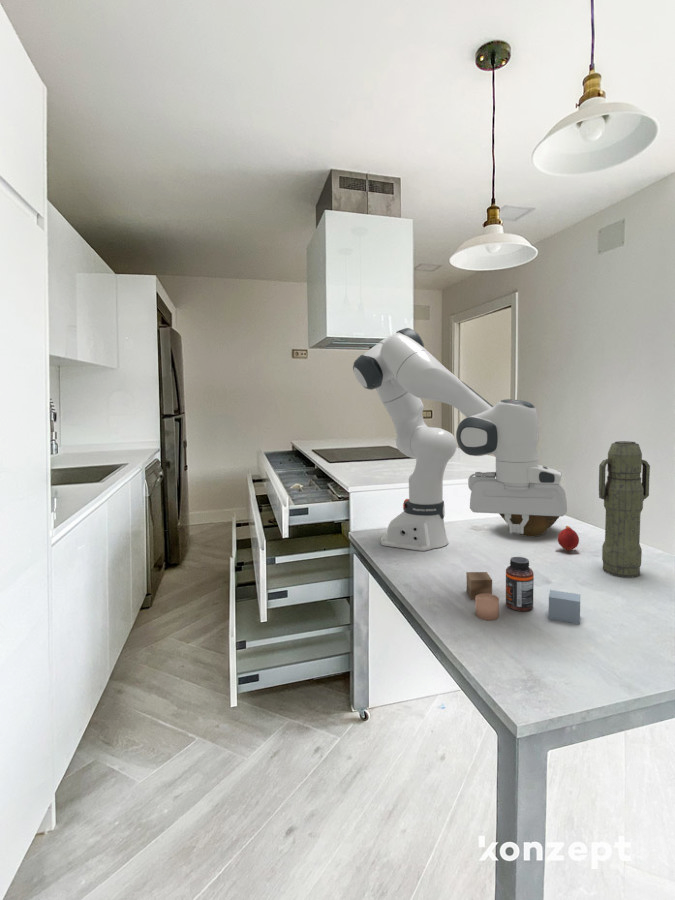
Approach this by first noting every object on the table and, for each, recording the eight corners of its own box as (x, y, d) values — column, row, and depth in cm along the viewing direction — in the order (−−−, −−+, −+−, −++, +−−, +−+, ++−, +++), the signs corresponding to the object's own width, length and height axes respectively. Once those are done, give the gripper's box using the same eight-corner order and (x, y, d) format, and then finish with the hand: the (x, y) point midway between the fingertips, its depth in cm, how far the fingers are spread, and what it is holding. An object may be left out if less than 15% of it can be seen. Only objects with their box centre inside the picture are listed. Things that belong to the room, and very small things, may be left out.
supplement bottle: (501, 601, 108) (501, 555, 106) (525, 599, 108) (525, 553, 107) (512, 613, 102) (513, 564, 100) (538, 611, 102) (538, 562, 101)
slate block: (548, 618, 99) (548, 596, 98) (549, 610, 102) (550, 589, 102) (579, 624, 96) (580, 601, 95) (580, 616, 99) (580, 594, 99)
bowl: (488, 523, 172) (488, 497, 170) (552, 523, 168) (552, 497, 167) (501, 542, 150) (501, 512, 149) (574, 542, 147) (575, 512, 146)
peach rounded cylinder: (475, 619, 100) (474, 601, 99) (475, 608, 105) (475, 592, 104) (499, 621, 98) (499, 604, 98) (498, 611, 103) (498, 594, 103)
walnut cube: (471, 600, 109) (470, 580, 109) (466, 591, 114) (466, 572, 114) (492, 599, 109) (492, 579, 108) (486, 591, 114) (486, 571, 113)
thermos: (654, 576, 118) (660, 442, 114) (609, 578, 118) (613, 444, 114) (632, 564, 127) (636, 439, 123) (590, 566, 127) (593, 441, 123)
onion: (574, 548, 142) (574, 523, 141) (582, 554, 136) (582, 528, 135) (554, 548, 142) (554, 523, 141) (561, 554, 136) (562, 528, 136)
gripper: (467, 474, 102) (467, 534, 103) (568, 475, 95) (567, 540, 96) (469, 469, 108) (469, 526, 109) (564, 471, 101) (564, 531, 102)
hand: (516, 532), depth 103 cm, fingers closed
